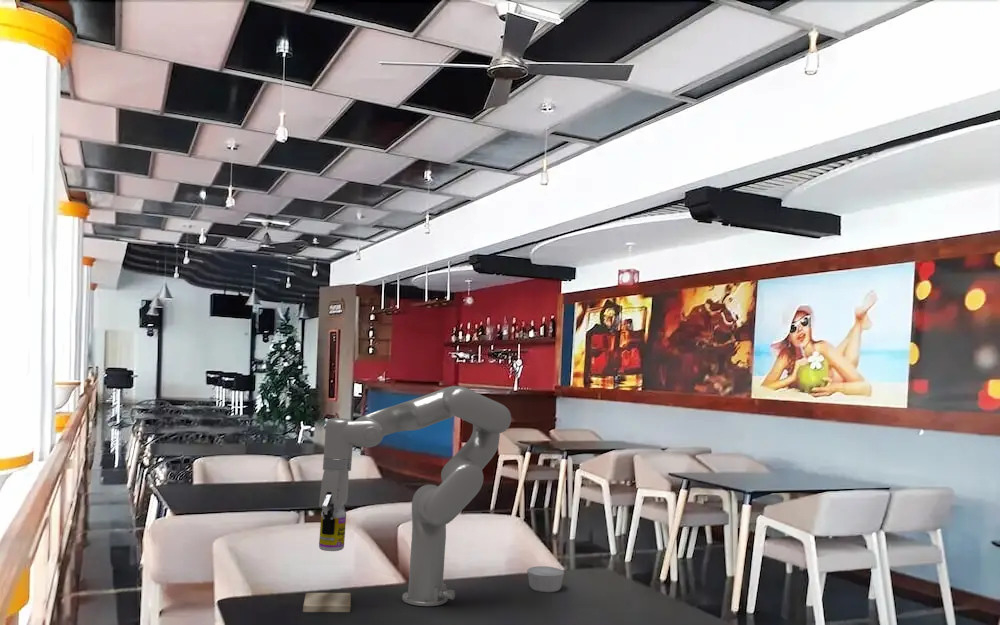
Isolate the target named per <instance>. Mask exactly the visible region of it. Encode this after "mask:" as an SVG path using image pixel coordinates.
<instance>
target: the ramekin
mask: <svg viewBox="0 0 1000 625" xmlns="http://www.w3.org/2000/svg"><path fill="white" fill-rule="evenodd" d="M526 571H527V572H526V574H527V576H528V586H529V587H530V589H531V590H534V591H536V592H542V593H555V592H559V591H560V590H561V589H562V585H563V580H564V576H565V571H564V570H563V569H561V568H557V567H553V566H542V565H541V566H531V567H529V568H528V569H527V570H526Z"/></svg>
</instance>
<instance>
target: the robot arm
mask: <svg viewBox="0 0 1000 625" xmlns="http://www.w3.org/2000/svg"><path fill="white" fill-rule="evenodd" d="M454 417H455V418H459V419H461V420H462V421H465V422H467V423H469V424H472V433H471V435H470V438H468V439H467V442H465V444H464V445H463V446H462V447H461V448H460V449H459V450H458V451H457V452H456V453H455V454H454V456H453V457H452V458H450V459H449V460H448V461H447V463H446V464H444V466H443V468H442V470H441V474H440V478H441V481H442V482H441V483H440V484H439V485H436V484H424V485H423V486H421V487H419V488H418V489H417V490H416V491H415V492H414V494H413V496H412V500H411V501H412V502H411V523H412V524H411V526H412V527H411V530H412V531H411V543H410V556H409V557H410V559H409V560H410V561H409V576H408V590H407V591H406V592H403V594H402V597H401V598H402V599H401V600H402V601H403V602H404V603H406V604H409V605H412V606H417V607H419V606H420V607H435V606H441V605H444V604H446V603H447V602H448V600H454V599H455V597H456V592H455V590H454V589H447V583H444V571H445V558H446V557H445V556H446V555H445V554H446V541H447V540H446V539H447V538H446V537H447V526H446V525H447V524H450V523H451V522H452V521H453V520H454V519H455V518H456V517H457V516H458V515H459V514H460V513H461V512H462V511H463V510H464V509H465V508H466V506H468V504H470V502H471V501H472V500H473V499H474V498H476V496H477V495H478V493H479V492H480V491H481V489H482V487H483V483H484V473H483V472H484V471H483V469H484V468H485V467H486V466H487V465H488V463H489V462H490V461H491V460H492V459H493V457H494V456H495V454H496V453H497V450H498V448H499V443H500V437H501V436H500V435H501V433H504V432H505V431H507V430H508V429H509V428H510V426H511V422H512V414H511V412H510V410H509V408H507V407H506V406H505V405H504V404H503V403H500V402H498V401H496V400H493V399H491V398H489V397H487V396H484V395H482V394H480V393H478V392H476V391H474V390H472V389H469V388H468V387H464V386H459V385H458V386H457V385H452V386H447V387H445V388H441V389H439V390H436V391H434V392H431V393H427V394H425V395H422V396H419V397H416V398H413V399H410V400H407V401H404V402H401V403H398V404H395V405H392V406H388V407H385V408H383V409H379V410H376V411H373V412H370V413H368V414H365V415H362V416H360V417H358V418H356V419H355V420H352V419H350V418H342V417H341V418H340V417H337V418H335V417H334V418H329V419H327V420H326V423H325V434H324V444H323V447H324V448H323V460H322V462H323V463H322V471H323V473H322V480H321V486H320V492H319V494H320V495H319V501H318V502H319V503H318V504H319V508H320V509H322V511H323V524H322V534H326V535H333V534H334V529H335V519H334V515H335V510H336V509H337V508H339V507H341V503H342V502H343V507H342V509H343V510H344V511H345V512H346V509H345V508H346V504H347V503H348V497H349V472H351V471H352V461H353V460H352V458H353V449H354V448H353V447H354V446H357V447H364V448H373V447H375V446H378V445H379V444H381V442H382V441H383V438H384V437H385V436H387V435H392V434H395V433H399V432H407V431H408V432H410V431H417V430H421V429H424V428H427V427H430V426H432V425H435V424H437V423H440V422H442V421H446V420H448V419H451V418H454ZM329 505H330V506H333V507H329ZM330 510H332V513H331V511H330Z"/></svg>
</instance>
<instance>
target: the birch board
mask: <svg viewBox="0 0 1000 625" xmlns="http://www.w3.org/2000/svg"><path fill="white" fill-rule="evenodd" d="M351 601H352V600H351V592H306V593H305V596H304V602H303V606H302V613H350V612H351V603H352V602H351Z"/></svg>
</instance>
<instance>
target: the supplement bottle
mask: <svg viewBox="0 0 1000 625" xmlns="http://www.w3.org/2000/svg"><path fill="white" fill-rule="evenodd" d="M329 507H333V506H330V505H329ZM342 507H343V502H342V503H341V507H339V508H337V509H336V510H335V515H334V519H335V529H334V534H333V535H326V534H322V524H323V510H322V511H321V514H320V515H321V516H320V526H319V528H320V529H319V538H318V539H319V542H318V547H319V550H321V551H324V552H338V551H342V550H343V549H344V548H345V538H346V524H347V512H346V510H345V511H344V510H343V509H342ZM330 511H331V513H332V510H330Z"/></svg>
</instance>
